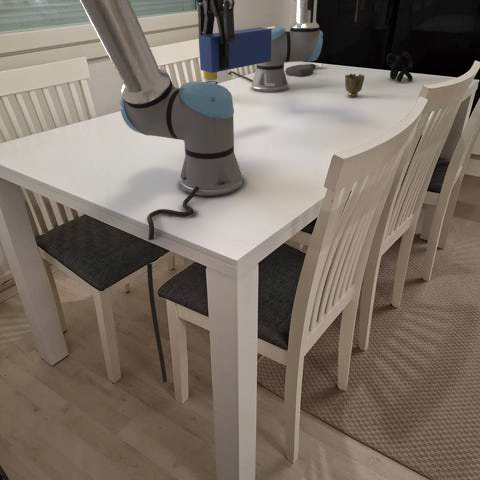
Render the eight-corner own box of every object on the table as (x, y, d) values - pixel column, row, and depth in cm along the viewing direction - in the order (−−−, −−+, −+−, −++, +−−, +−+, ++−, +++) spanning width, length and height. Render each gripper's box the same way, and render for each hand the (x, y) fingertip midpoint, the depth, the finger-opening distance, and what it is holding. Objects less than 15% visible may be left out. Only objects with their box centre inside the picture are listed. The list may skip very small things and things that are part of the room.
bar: (212, 72, 123) (210, 37, 118) (200, 70, 127) (198, 35, 122) (271, 61, 136) (271, 28, 131) (258, 59, 139) (258, 27, 134)
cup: (340, 97, 177) (342, 76, 172) (346, 93, 182) (348, 72, 178) (359, 99, 174) (362, 78, 169) (364, 95, 179) (366, 74, 175)
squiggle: (400, 92, 202) (376, 71, 205) (417, 76, 202) (392, 56, 205) (405, 81, 191) (380, 59, 194) (423, 64, 191) (397, 42, 194)
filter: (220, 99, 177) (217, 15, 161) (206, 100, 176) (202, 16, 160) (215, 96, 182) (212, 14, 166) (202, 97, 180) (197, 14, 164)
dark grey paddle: (283, 74, 214) (310, 66, 231) (302, 77, 208) (328, 69, 225) (283, 67, 213) (310, 60, 229) (302, 70, 207) (329, 62, 223)
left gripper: (248, -29, 111) (249, 69, 123) (203, -29, 123) (208, 60, 135) (225, -28, 106) (228, 73, 119) (181, -28, 118) (187, 64, 131)
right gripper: (384, -63, 126) (373, 20, 137) (295, -61, 128) (292, 21, 139) (389, -64, 120) (378, 23, 131) (296, -62, 122) (292, 24, 133)
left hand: (217, 66), depth 127 cm, fingers closed on bar, 5 cm apart
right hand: (333, 22), depth 135 cm, fingers open, 13 cm apart
